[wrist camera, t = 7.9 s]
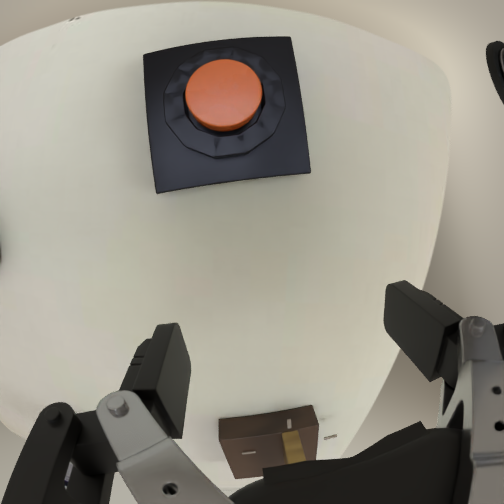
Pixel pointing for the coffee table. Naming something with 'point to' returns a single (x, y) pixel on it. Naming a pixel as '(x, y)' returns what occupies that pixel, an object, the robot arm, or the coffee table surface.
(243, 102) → the button
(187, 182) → the button block
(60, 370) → the coffee table surface
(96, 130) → the coffee table surface
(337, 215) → the coffee table surface
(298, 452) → the lock knob
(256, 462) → the panel
